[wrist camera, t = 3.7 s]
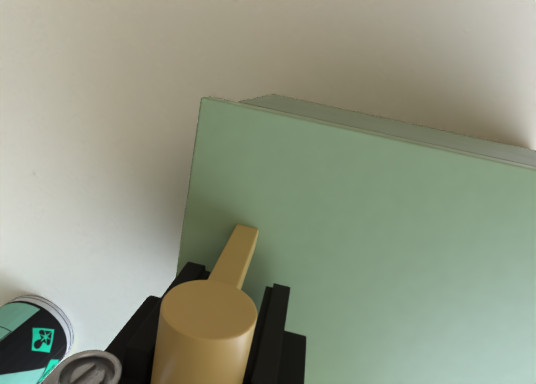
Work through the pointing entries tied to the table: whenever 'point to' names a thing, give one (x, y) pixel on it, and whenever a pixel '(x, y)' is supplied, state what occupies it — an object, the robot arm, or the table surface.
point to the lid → (351, 255)
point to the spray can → (32, 339)
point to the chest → (395, 128)
